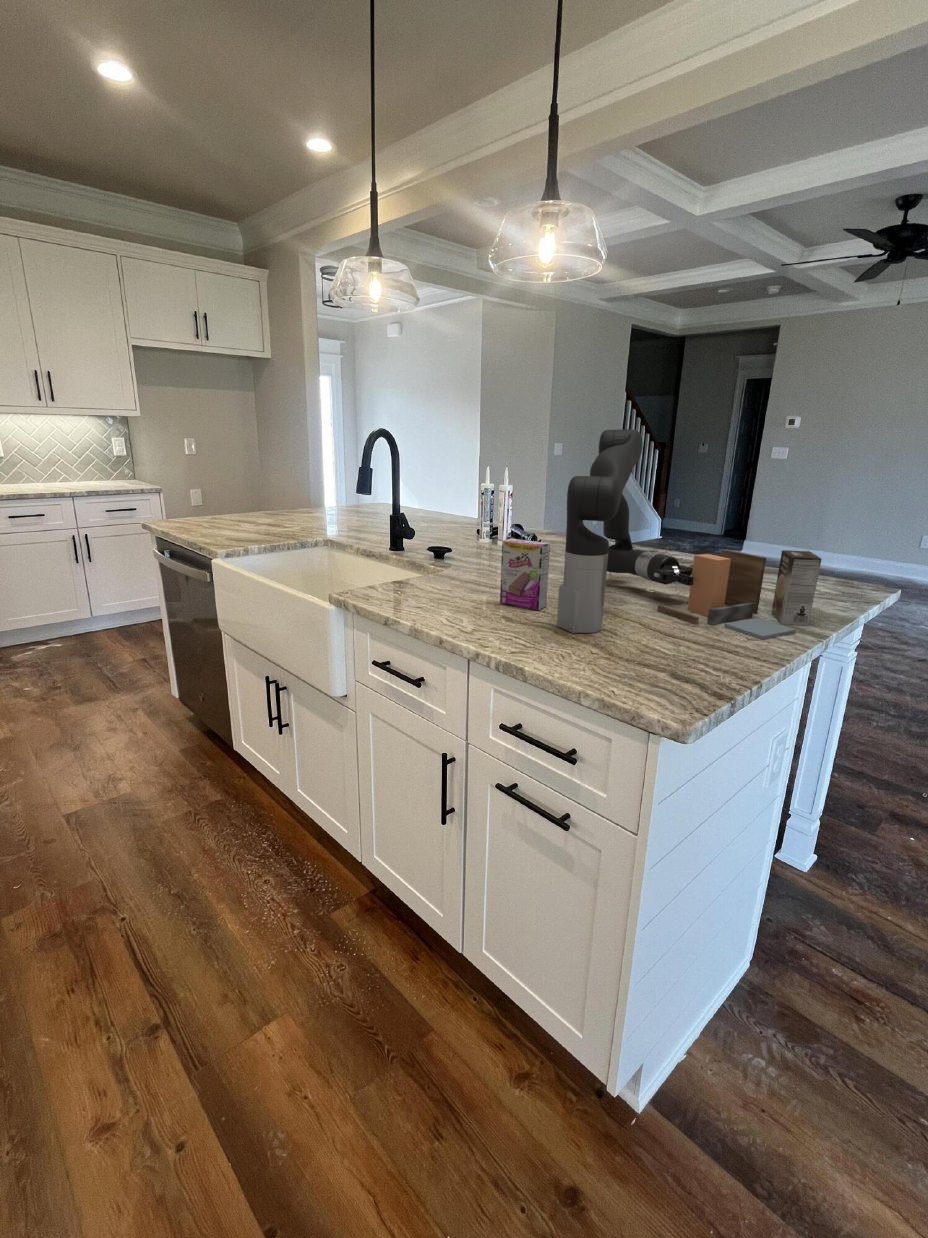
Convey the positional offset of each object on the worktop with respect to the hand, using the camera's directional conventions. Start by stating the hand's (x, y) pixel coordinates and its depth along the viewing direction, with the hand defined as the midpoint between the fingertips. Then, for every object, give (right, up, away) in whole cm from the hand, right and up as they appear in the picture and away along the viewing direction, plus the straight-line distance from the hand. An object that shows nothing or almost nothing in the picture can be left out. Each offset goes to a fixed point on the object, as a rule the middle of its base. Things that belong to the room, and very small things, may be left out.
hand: (704, 579), depth 149 cm
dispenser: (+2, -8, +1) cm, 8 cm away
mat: (+8, -12, -12) cm, 19 cm away
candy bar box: (-44, -6, +5) cm, 45 cm away
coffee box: (+19, -10, -3) cm, 22 cm away
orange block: (+1, -8, +1) cm, 8 cm away
